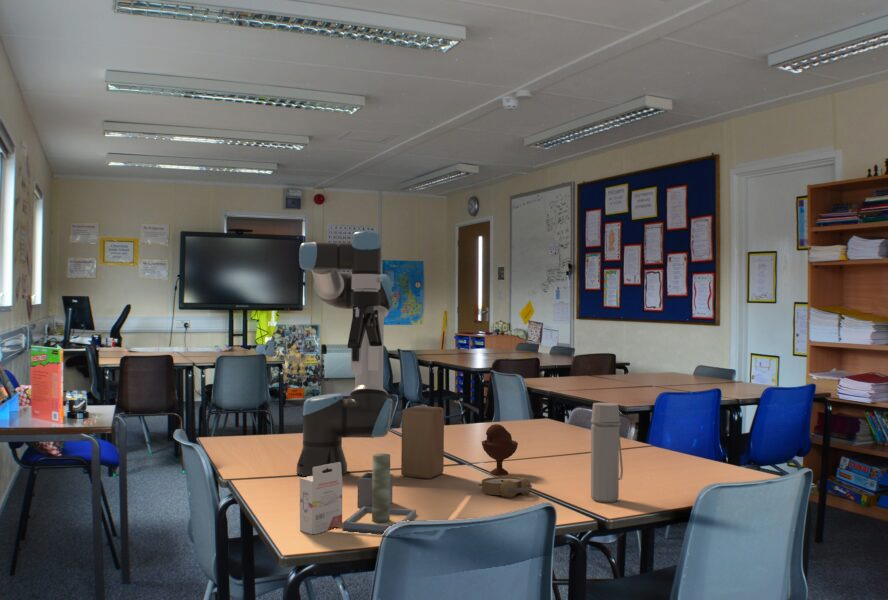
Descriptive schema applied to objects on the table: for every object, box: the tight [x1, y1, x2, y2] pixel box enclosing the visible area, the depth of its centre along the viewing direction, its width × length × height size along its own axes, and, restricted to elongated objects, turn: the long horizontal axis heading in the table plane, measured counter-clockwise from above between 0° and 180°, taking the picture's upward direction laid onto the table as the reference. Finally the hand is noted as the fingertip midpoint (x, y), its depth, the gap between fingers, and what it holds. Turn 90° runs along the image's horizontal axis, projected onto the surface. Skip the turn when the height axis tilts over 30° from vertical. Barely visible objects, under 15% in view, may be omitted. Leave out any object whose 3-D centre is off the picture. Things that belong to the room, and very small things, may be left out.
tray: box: [342, 506, 417, 536], centre depth 167 cm, size 13×14×2 cm
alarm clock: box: [478, 476, 533, 499], centre depth 198 cm, size 11×5×15 cm
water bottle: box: [590, 402, 624, 503], centre depth 193 cm, size 9×8×25 cm
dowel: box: [371, 452, 391, 524], centre depth 167 cm, size 4×4×15 cm
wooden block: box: [400, 405, 445, 480], centre depth 220 cm, size 10×10×20 cm
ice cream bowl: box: [481, 423, 519, 476], centre depth 223 cm, size 11×11×15 cm
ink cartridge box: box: [299, 462, 343, 535], centre depth 164 cm, size 9×5×15 cm, turn 138°
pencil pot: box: [356, 472, 394, 509], centre depth 181 cm, size 7×7×8 cm
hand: (365, 372), depth 192 cm, fingers open, 13 cm apart
